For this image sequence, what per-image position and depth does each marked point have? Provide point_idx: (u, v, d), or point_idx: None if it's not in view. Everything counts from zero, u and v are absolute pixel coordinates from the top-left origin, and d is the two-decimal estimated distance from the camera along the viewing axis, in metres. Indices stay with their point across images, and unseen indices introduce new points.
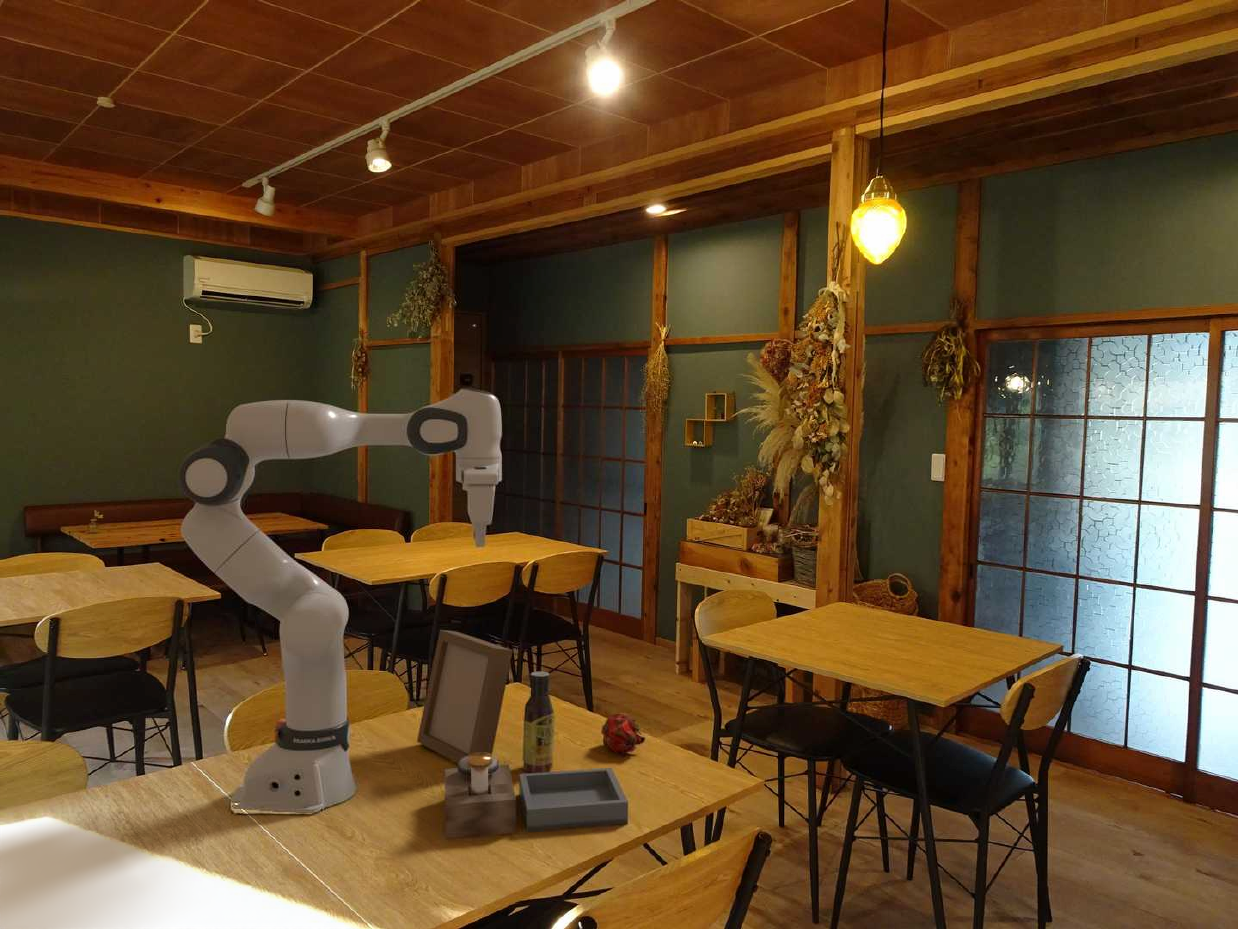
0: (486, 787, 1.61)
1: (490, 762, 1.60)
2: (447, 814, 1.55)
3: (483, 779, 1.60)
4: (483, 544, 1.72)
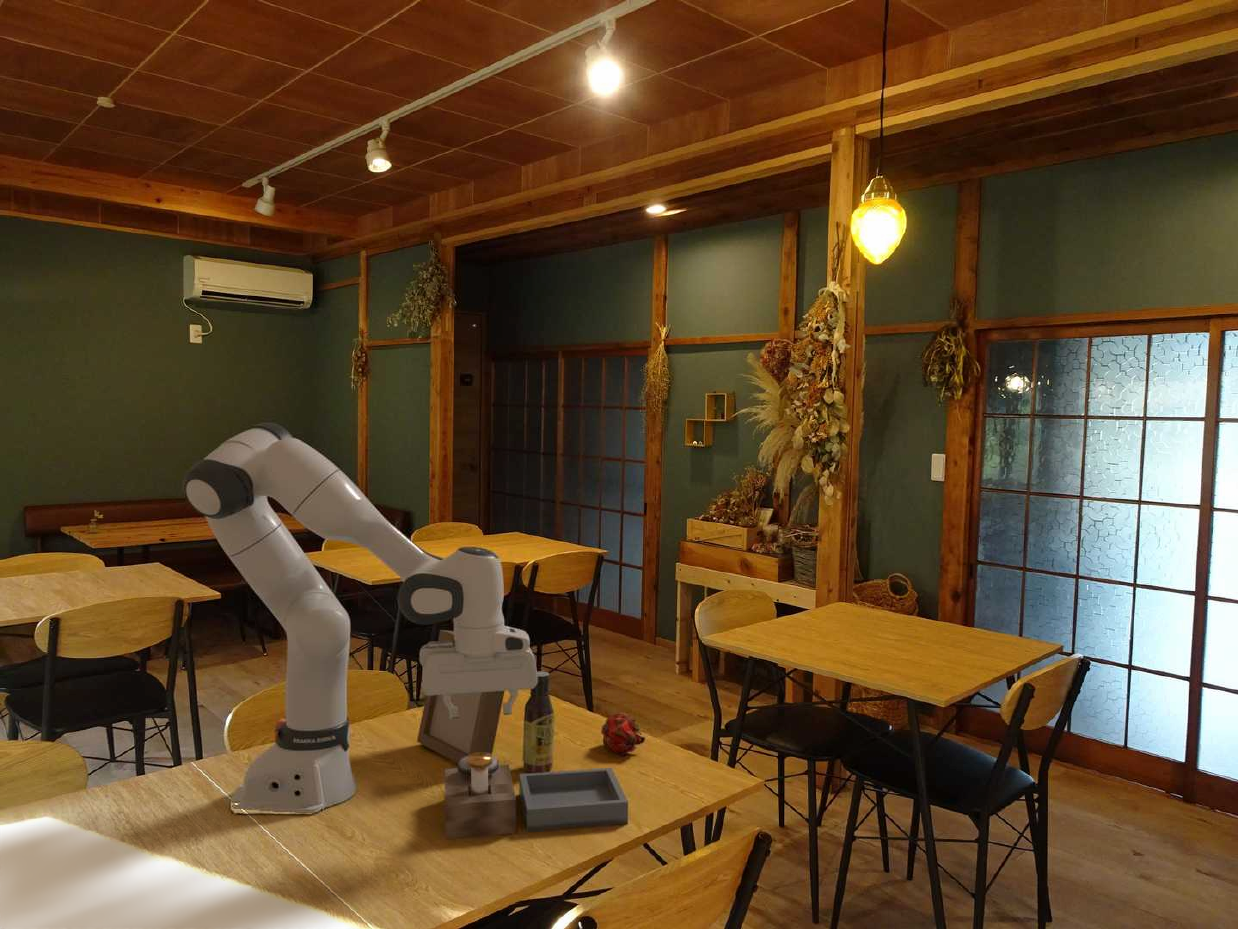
0: (486, 787, 1.61)
1: (490, 762, 1.60)
2: (447, 814, 1.55)
3: (483, 779, 1.60)
4: None
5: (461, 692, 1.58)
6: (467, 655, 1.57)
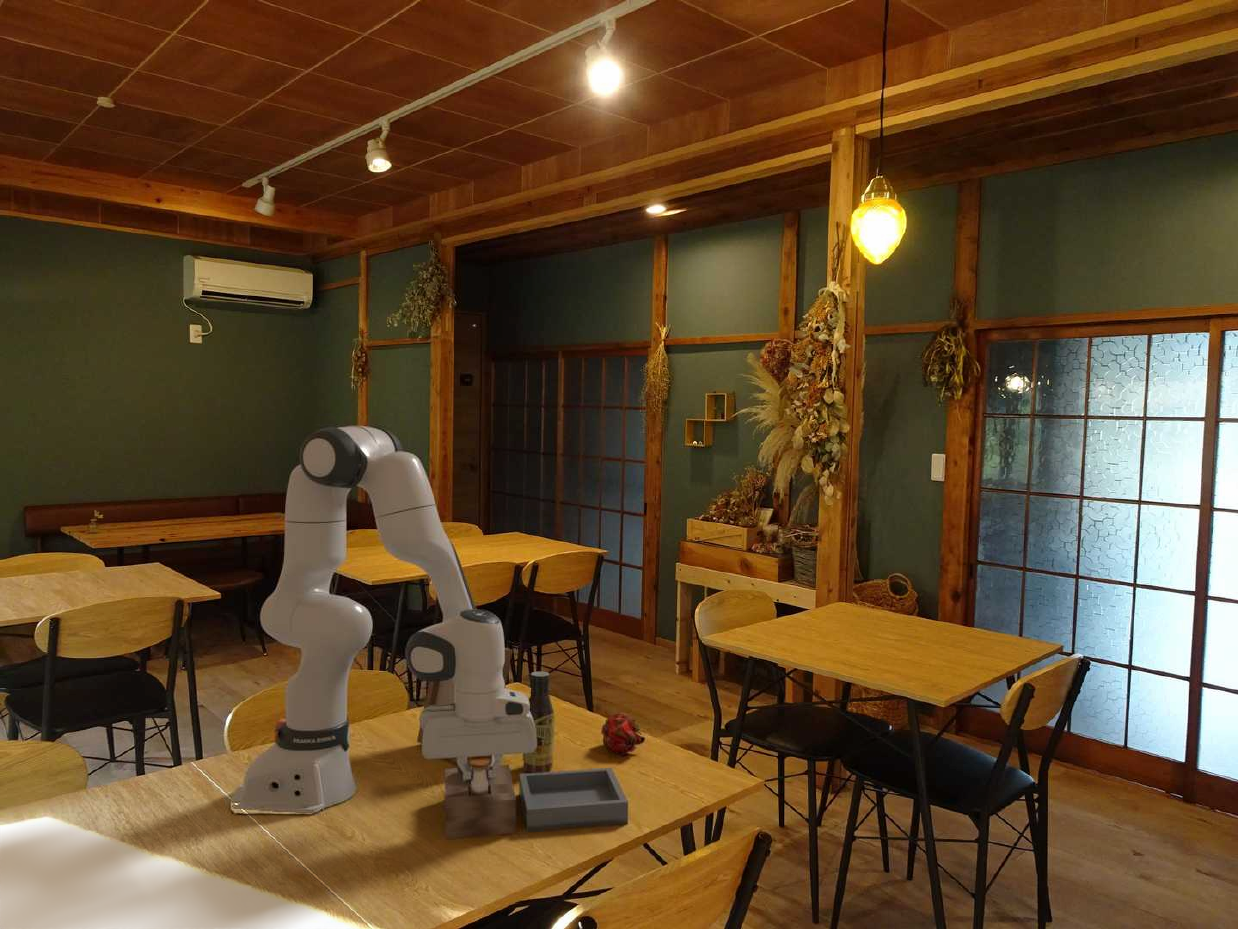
0: (486, 787, 1.61)
1: (490, 762, 1.60)
2: (447, 814, 1.55)
3: (483, 779, 1.60)
4: None
5: (460, 755, 1.59)
6: (467, 719, 1.58)
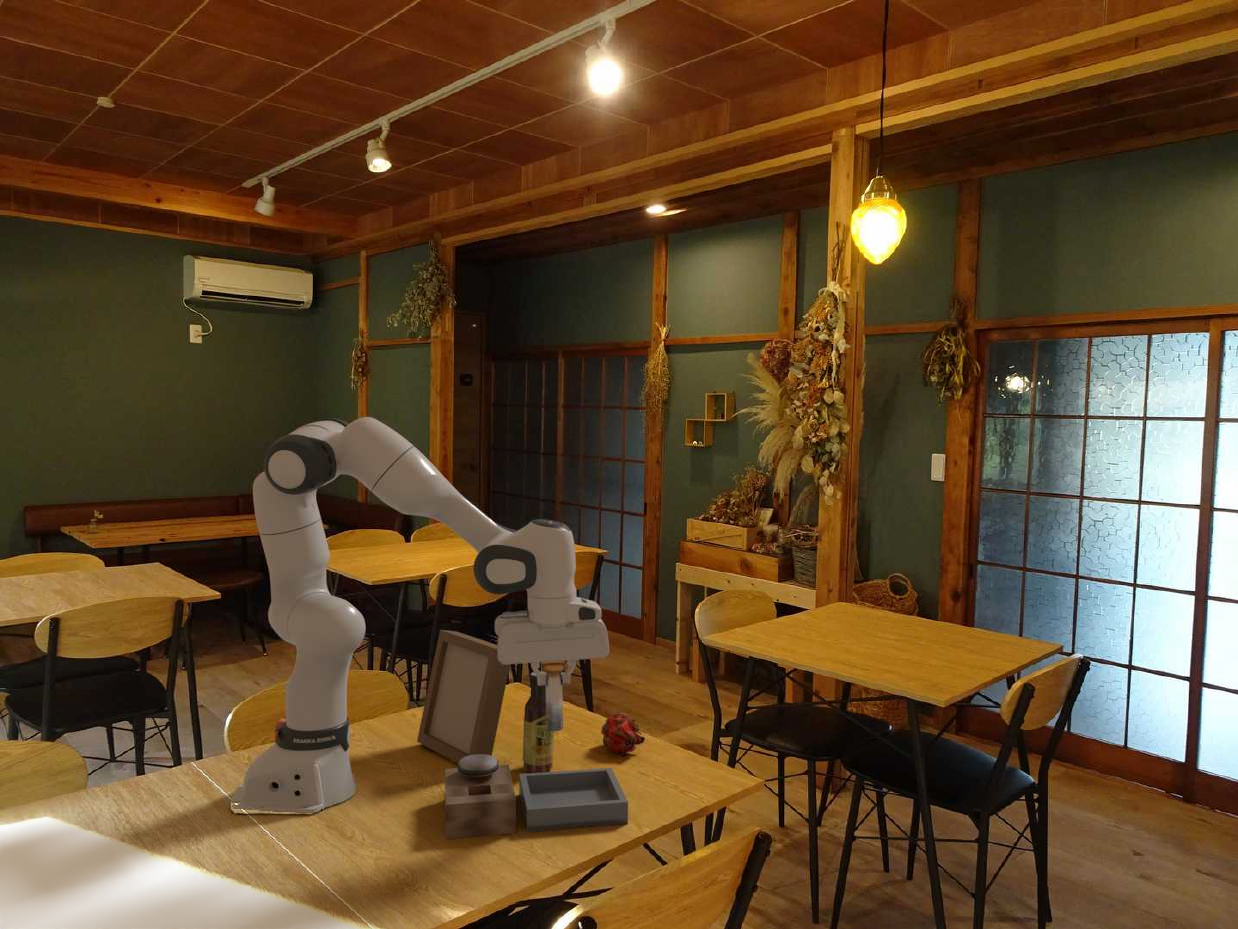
0: (560, 692, 1.64)
1: (564, 667, 1.64)
2: (447, 814, 1.55)
3: (558, 684, 1.63)
4: None
5: (535, 661, 1.62)
6: (541, 625, 1.61)
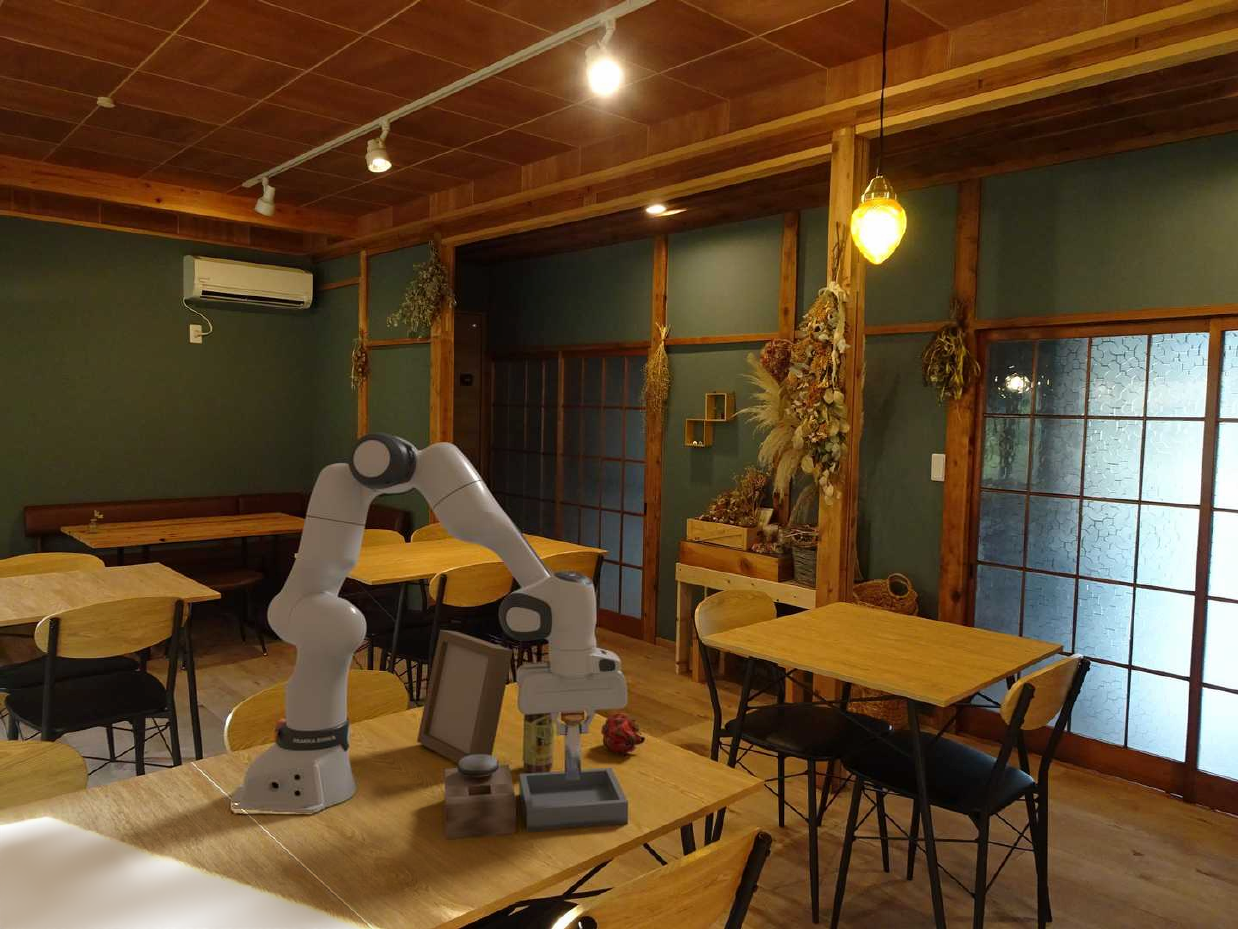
0: (579, 742, 1.67)
1: (583, 717, 1.67)
2: (447, 814, 1.55)
3: (577, 734, 1.66)
4: None
5: (555, 711, 1.65)
6: (562, 676, 1.64)
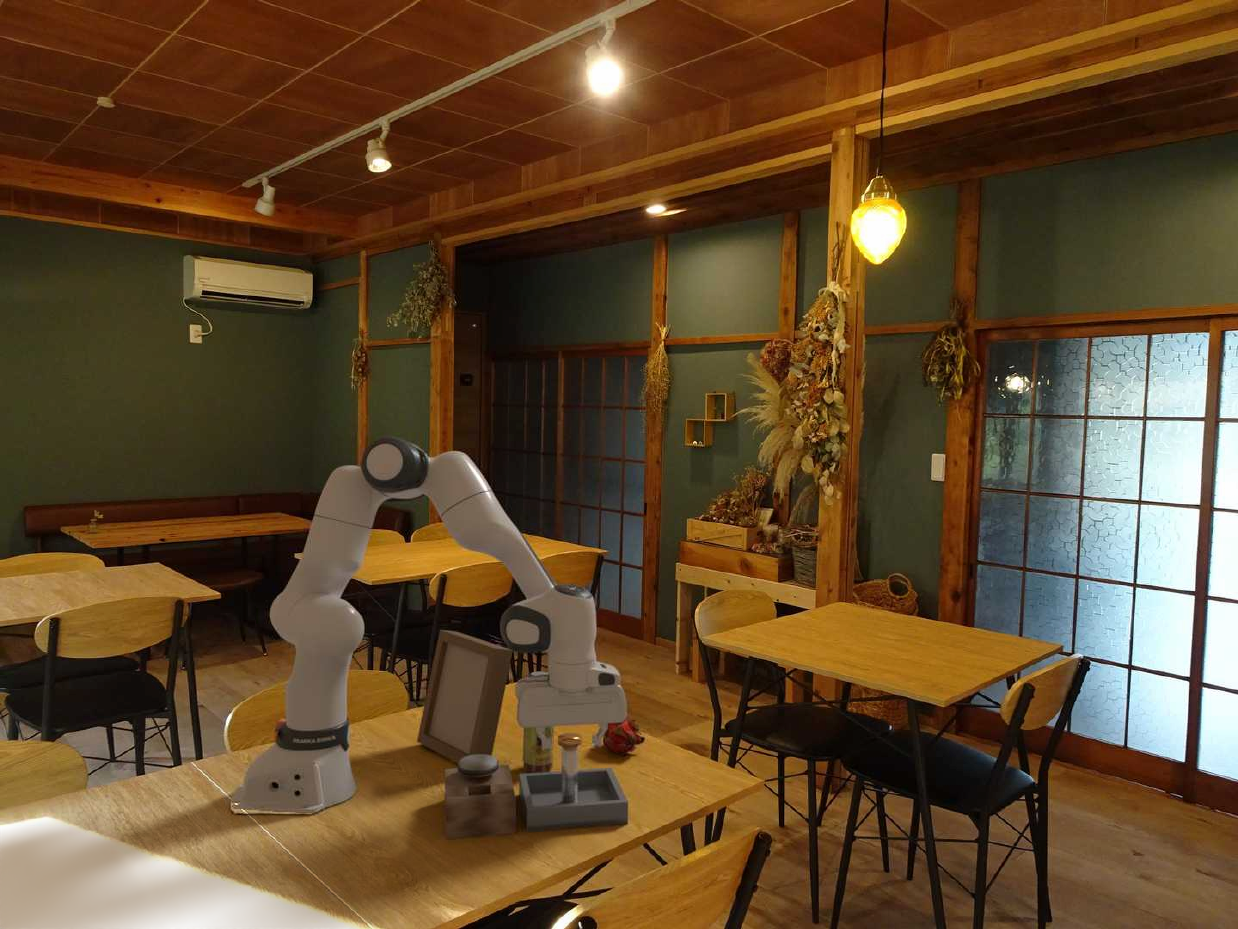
0: (576, 766, 1.67)
1: (580, 742, 1.67)
2: (447, 814, 1.55)
3: (574, 758, 1.67)
4: None
5: (554, 724, 1.65)
6: (561, 689, 1.64)
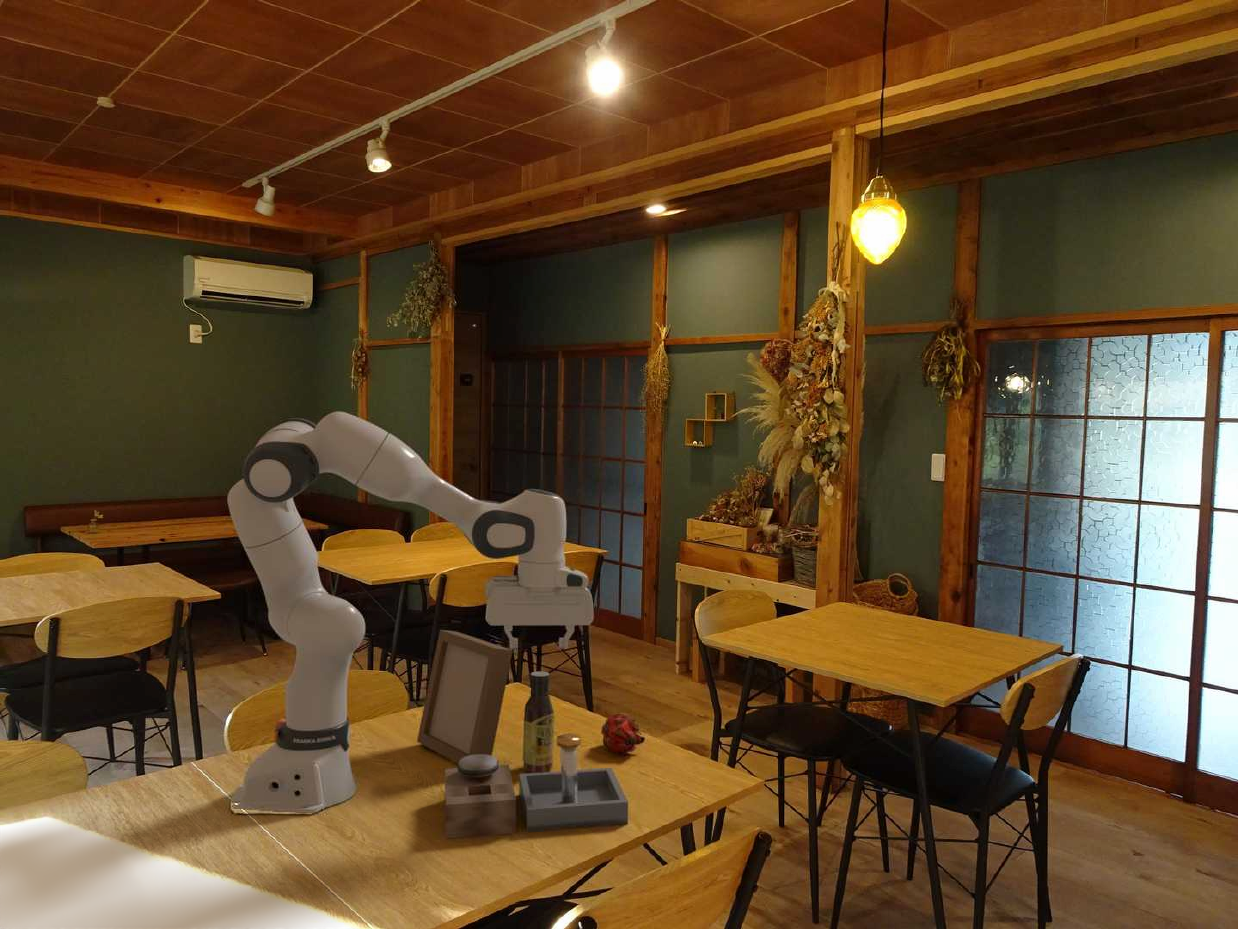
0: (576, 767, 1.67)
1: (579, 742, 1.67)
2: (447, 814, 1.55)
3: (573, 759, 1.67)
4: None
5: (522, 623, 1.68)
6: (530, 589, 1.68)
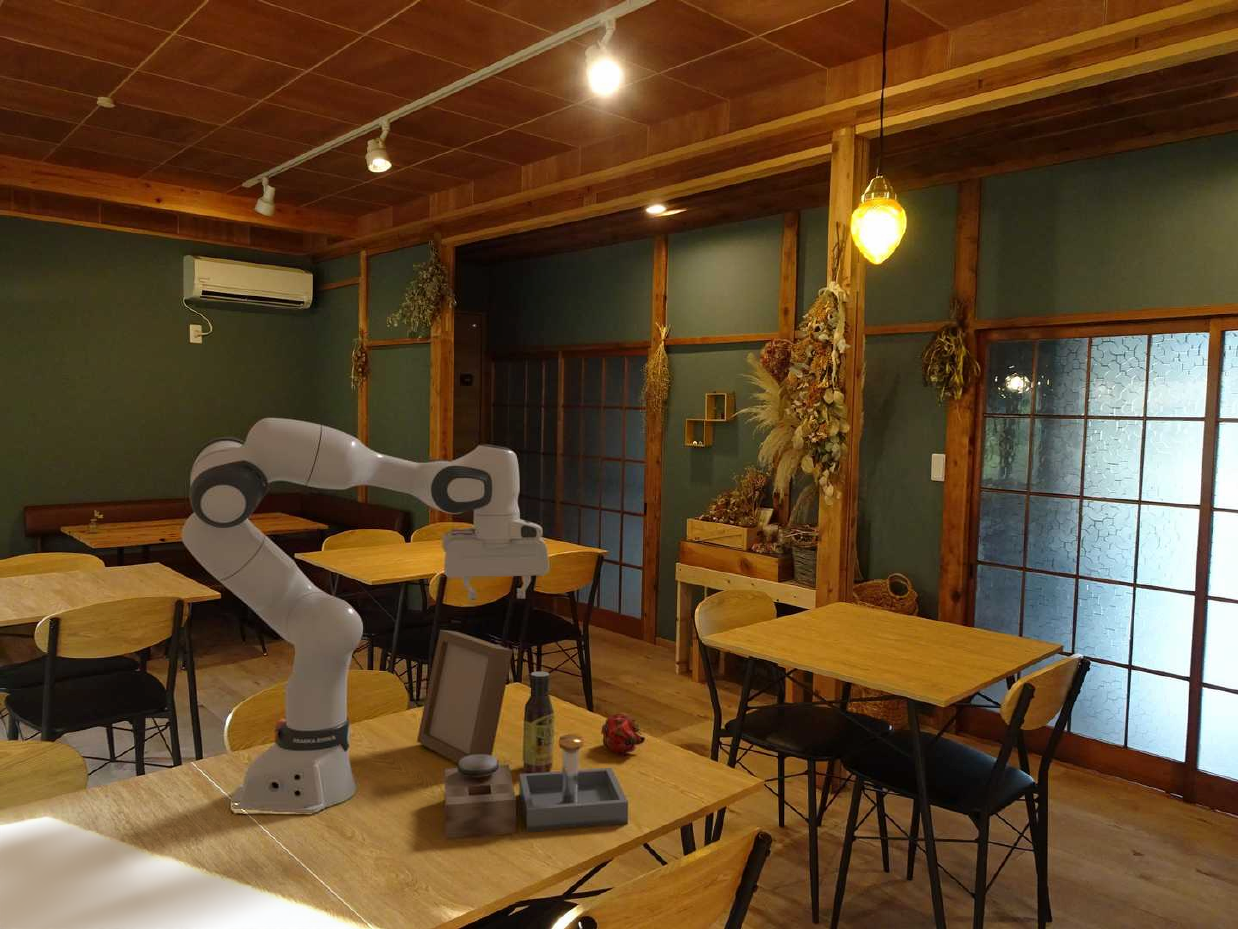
0: (577, 768, 1.67)
1: (581, 745, 1.66)
2: (447, 814, 1.55)
3: (575, 761, 1.66)
4: None
5: (479, 575, 1.73)
6: (486, 541, 1.73)
